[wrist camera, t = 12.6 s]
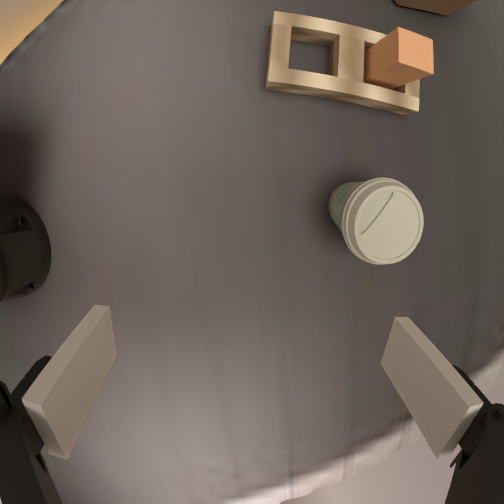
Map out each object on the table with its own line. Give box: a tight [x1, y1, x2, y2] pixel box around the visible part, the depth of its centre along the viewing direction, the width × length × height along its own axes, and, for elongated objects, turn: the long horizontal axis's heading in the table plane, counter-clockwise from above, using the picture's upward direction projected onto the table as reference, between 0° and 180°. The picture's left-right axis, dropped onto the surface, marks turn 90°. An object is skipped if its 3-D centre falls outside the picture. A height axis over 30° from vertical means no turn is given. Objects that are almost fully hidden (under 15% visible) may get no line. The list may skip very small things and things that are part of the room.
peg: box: [363, 27, 434, 90], centre depth 28 cm, size 4×4×12 cm
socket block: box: [265, 11, 420, 115], centre depth 31 cm, size 18×9×4 cm, turn 85°
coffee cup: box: [328, 178, 423, 264], centre depth 33 cm, size 8×9×12 cm
